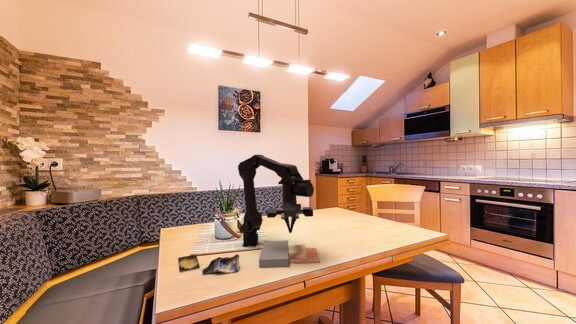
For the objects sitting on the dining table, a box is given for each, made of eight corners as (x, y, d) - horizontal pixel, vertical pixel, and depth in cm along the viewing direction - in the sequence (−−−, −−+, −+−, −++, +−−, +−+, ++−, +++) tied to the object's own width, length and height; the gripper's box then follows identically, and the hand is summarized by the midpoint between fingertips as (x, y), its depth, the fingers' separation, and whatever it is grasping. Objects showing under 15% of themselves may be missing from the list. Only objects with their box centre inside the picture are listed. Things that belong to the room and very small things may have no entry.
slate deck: (259, 267, 89) (259, 259, 89) (264, 247, 109) (264, 241, 109) (288, 266, 89) (288, 258, 89) (288, 247, 109) (288, 240, 109)
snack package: (216, 283, 79) (245, 268, 88) (213, 263, 79) (242, 250, 89) (198, 278, 87) (225, 265, 96) (195, 260, 87) (223, 249, 97)
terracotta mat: (289, 263, 92) (289, 262, 92) (288, 249, 106) (288, 248, 106) (320, 262, 92) (320, 261, 92) (315, 248, 106) (315, 247, 106)
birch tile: (288, 259, 94) (288, 253, 94) (288, 250, 103) (288, 244, 103) (306, 258, 94) (306, 252, 94) (304, 250, 103) (304, 244, 103)
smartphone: (196, 254, 103) (200, 267, 89) (196, 255, 103) (200, 269, 89) (177, 257, 99) (179, 272, 86) (177, 259, 99) (179, 273, 86)
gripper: (265, 199, 90) (266, 240, 90) (314, 197, 90) (315, 238, 91) (267, 194, 101) (268, 231, 102) (311, 193, 102) (312, 230, 102)
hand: (290, 232), depth 99 cm, fingers closed
